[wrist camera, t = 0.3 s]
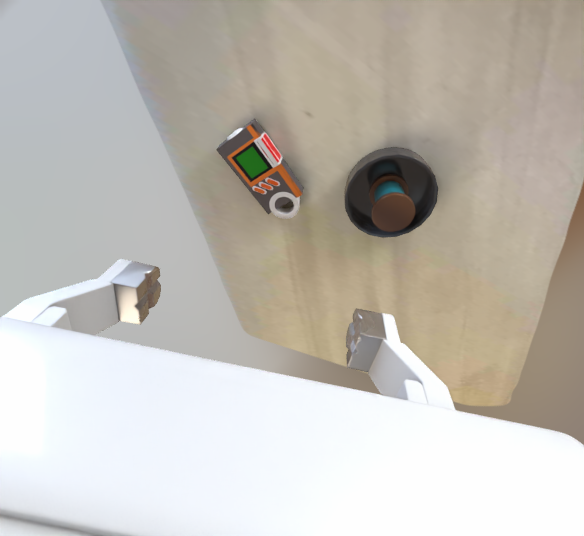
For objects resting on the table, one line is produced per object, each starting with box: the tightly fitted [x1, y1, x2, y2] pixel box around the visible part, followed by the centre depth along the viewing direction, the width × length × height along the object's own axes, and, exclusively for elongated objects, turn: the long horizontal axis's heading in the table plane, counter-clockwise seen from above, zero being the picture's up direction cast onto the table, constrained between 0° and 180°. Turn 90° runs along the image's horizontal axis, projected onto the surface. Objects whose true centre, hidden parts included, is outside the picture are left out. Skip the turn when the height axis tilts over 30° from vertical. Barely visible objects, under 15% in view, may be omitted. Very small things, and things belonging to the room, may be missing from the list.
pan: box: [345, 147, 438, 237], centre depth 48 cm, size 13×13×3 cm
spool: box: [369, 174, 415, 232], centre depth 46 cm, size 6×6×7 cm
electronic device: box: [217, 119, 303, 219], centre depth 49 cm, size 7×3×15 cm
